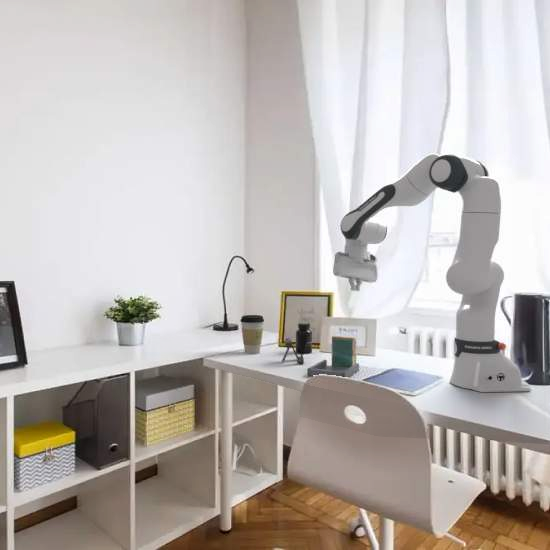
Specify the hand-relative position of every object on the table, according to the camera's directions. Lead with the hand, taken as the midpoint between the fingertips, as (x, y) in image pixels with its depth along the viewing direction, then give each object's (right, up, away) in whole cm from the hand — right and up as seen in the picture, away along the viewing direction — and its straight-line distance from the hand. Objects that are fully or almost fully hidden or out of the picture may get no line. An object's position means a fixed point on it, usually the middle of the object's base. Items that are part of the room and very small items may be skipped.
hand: (355, 290), depth 186 cm
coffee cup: (-40, -26, +14) cm, 50 cm away
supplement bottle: (-19, -26, +15) cm, 35 cm away
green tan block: (-6, -27, -11) cm, 30 cm away
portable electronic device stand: (-24, -27, -3) cm, 36 cm away
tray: (-11, -27, -20) cm, 36 cm away
